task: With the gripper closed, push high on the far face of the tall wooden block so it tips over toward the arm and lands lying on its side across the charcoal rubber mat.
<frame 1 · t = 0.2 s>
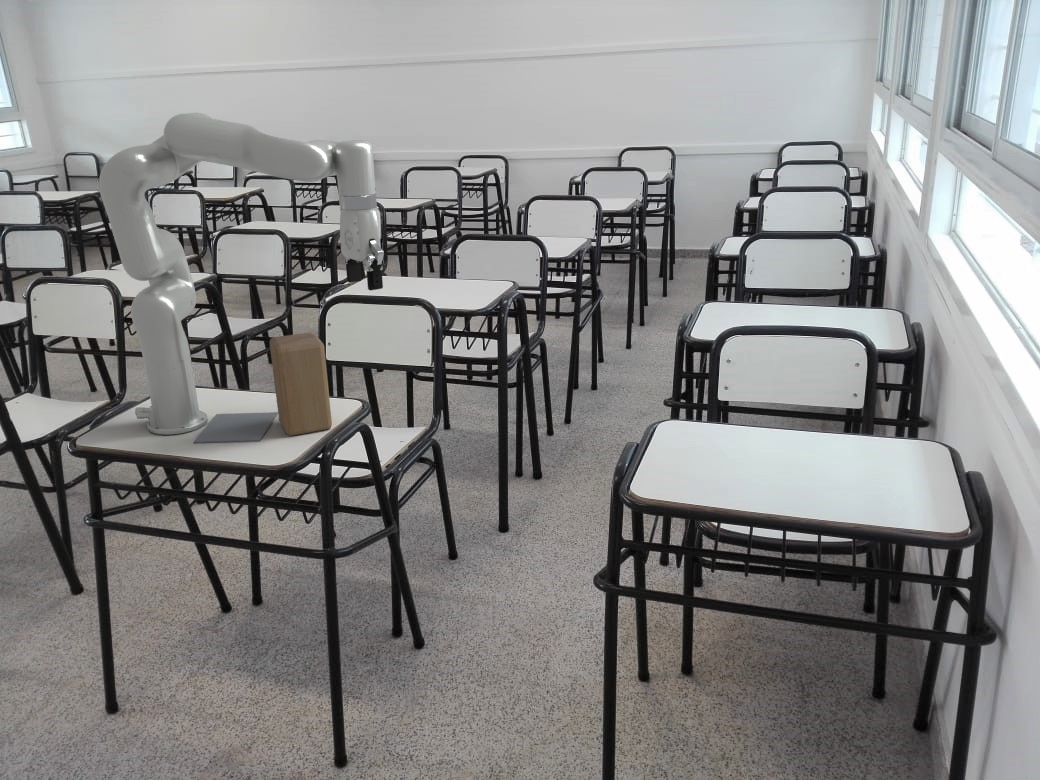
hand: (364, 285, 179), 31 cm above the table, tool pointing down, fingers open, 9 cm apart
wooden block: (305, 426, 187), on the table
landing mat: (237, 427, 186), on the table
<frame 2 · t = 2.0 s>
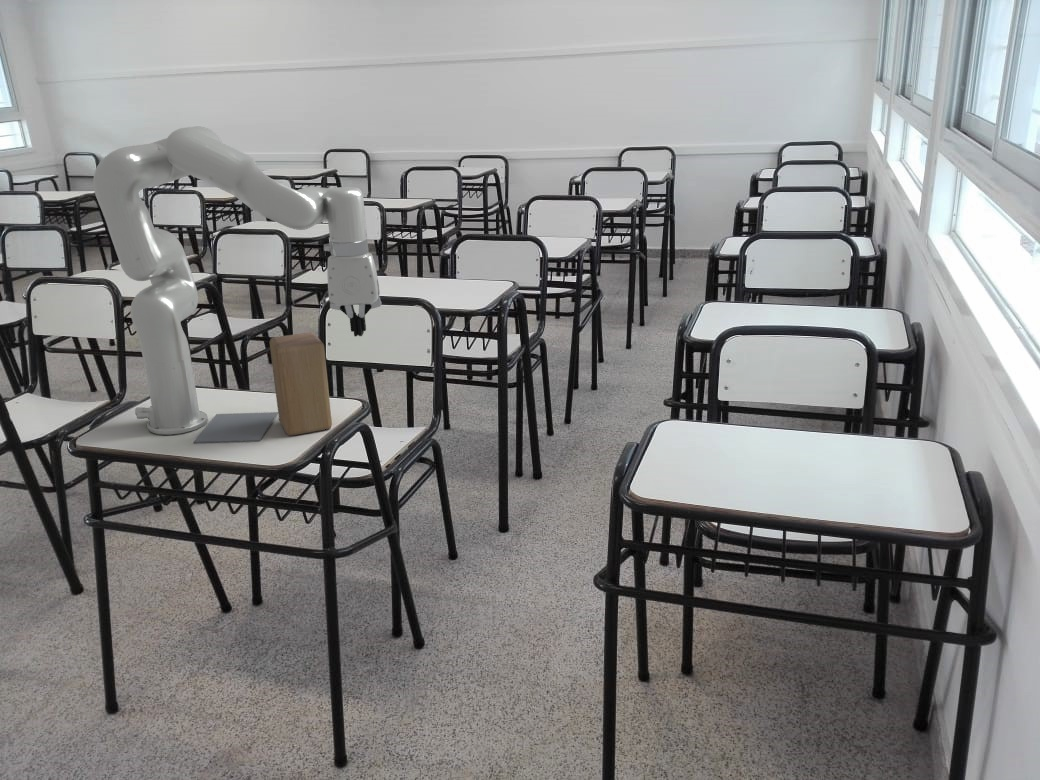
hand: (359, 334, 180), 21 cm above the table, tool pointing down, fingers closed
nothing on the table moved.
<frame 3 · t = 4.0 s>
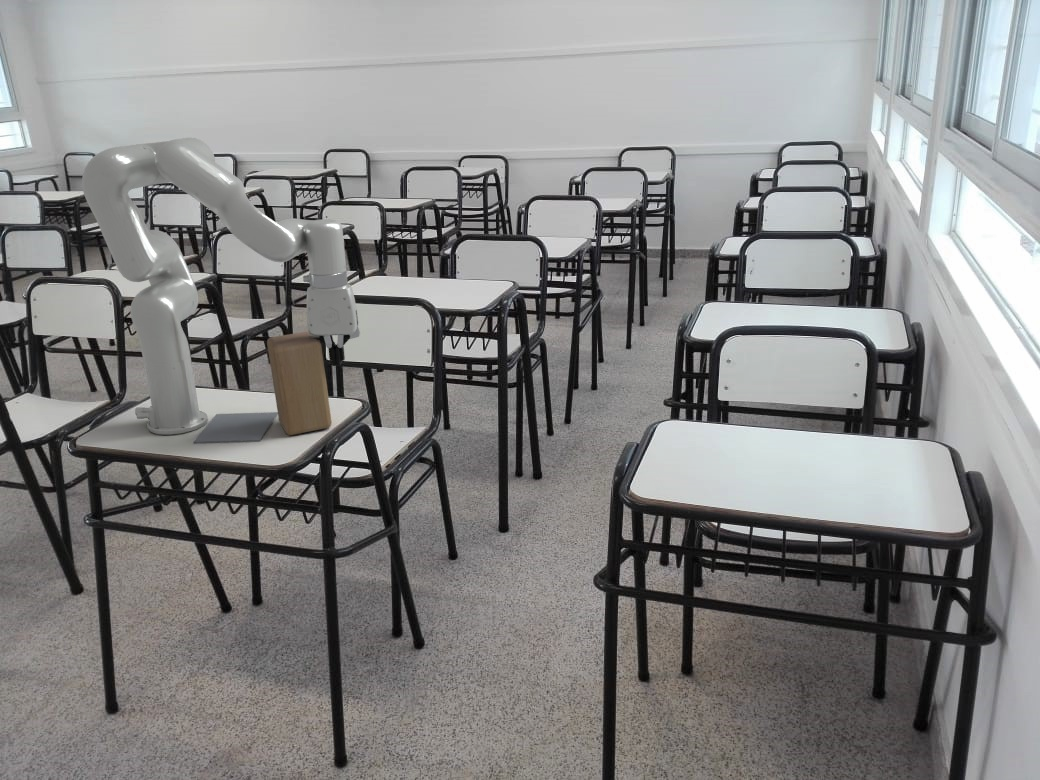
hand: (337, 363, 182), 14 cm above the table, tool pointing down, fingers closed
wooden block: (305, 426, 187), on the table, touching gripper
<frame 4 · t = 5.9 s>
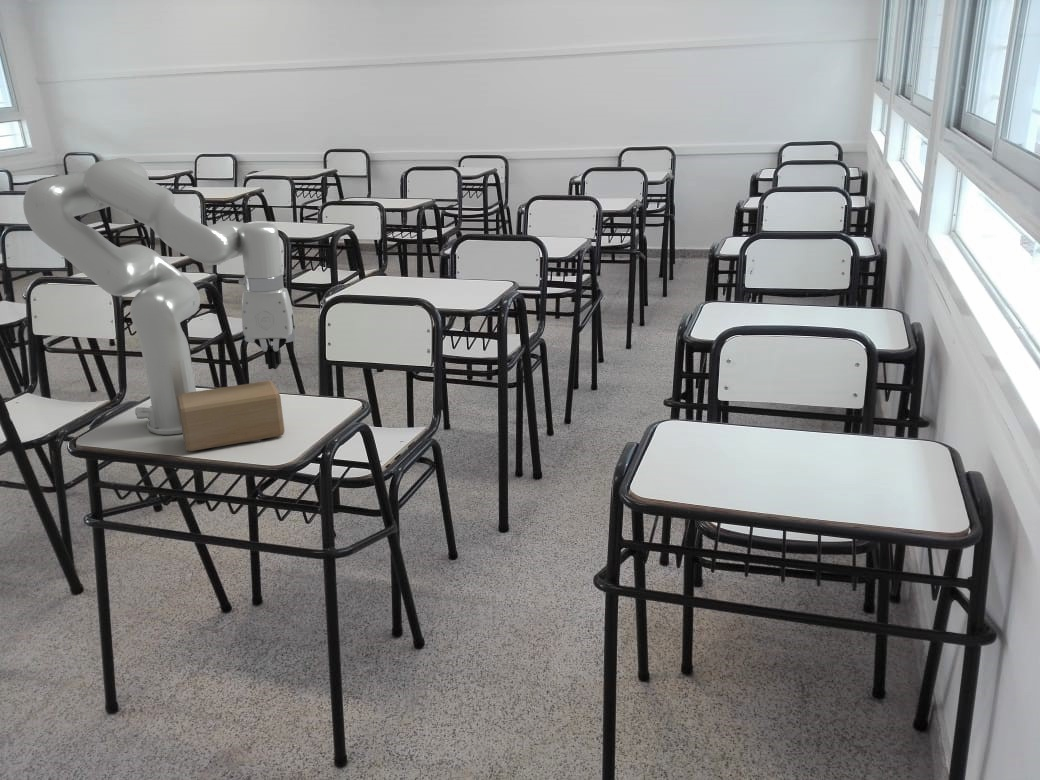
hand: (273, 367, 182), 14 cm above the table, tool pointing down, fingers closed
wooden block: (280, 407, 183), point 5 cm above the table, touching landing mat
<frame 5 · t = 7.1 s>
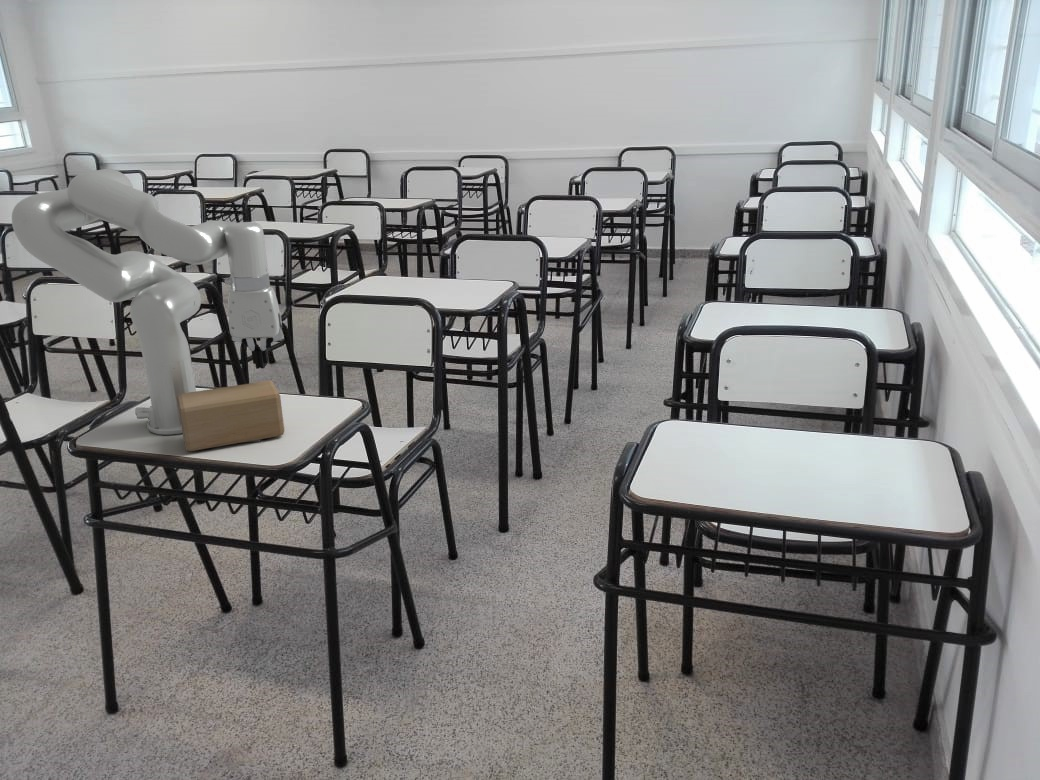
hand: (261, 366, 182), 14 cm above the table, tool pointing down, fingers closed
nothing on the table moved.
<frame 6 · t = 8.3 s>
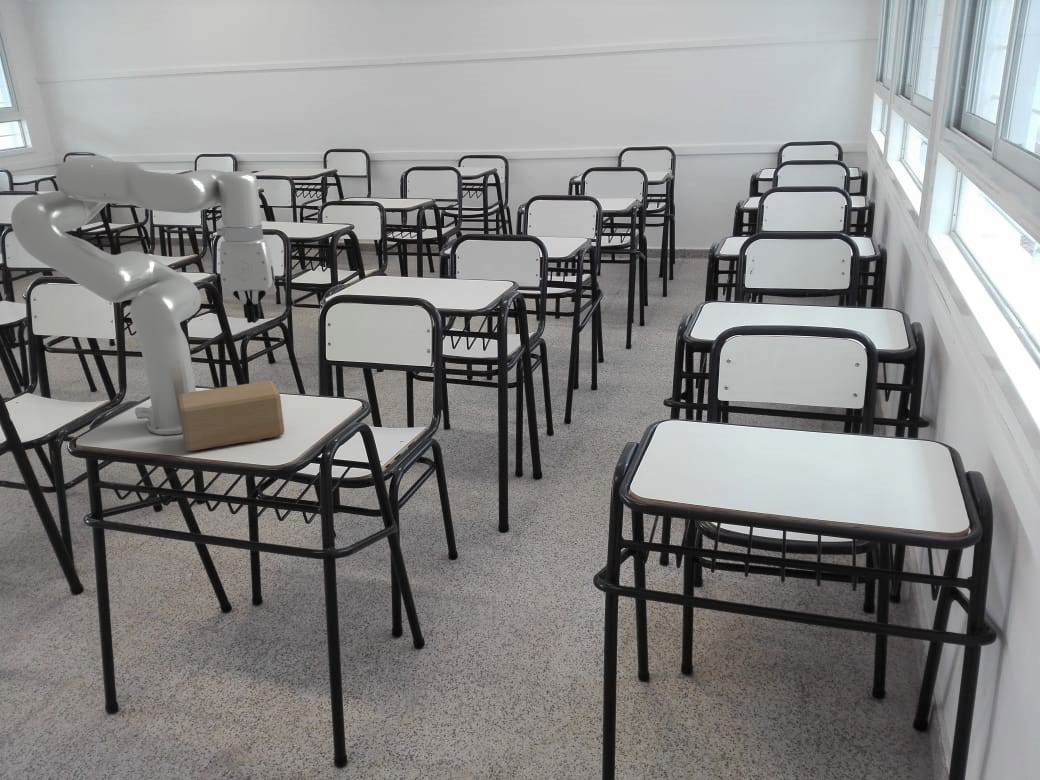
hand: (253, 320, 178), 24 cm above the table, tool pointing down, fingers closed
nothing on the table moved.
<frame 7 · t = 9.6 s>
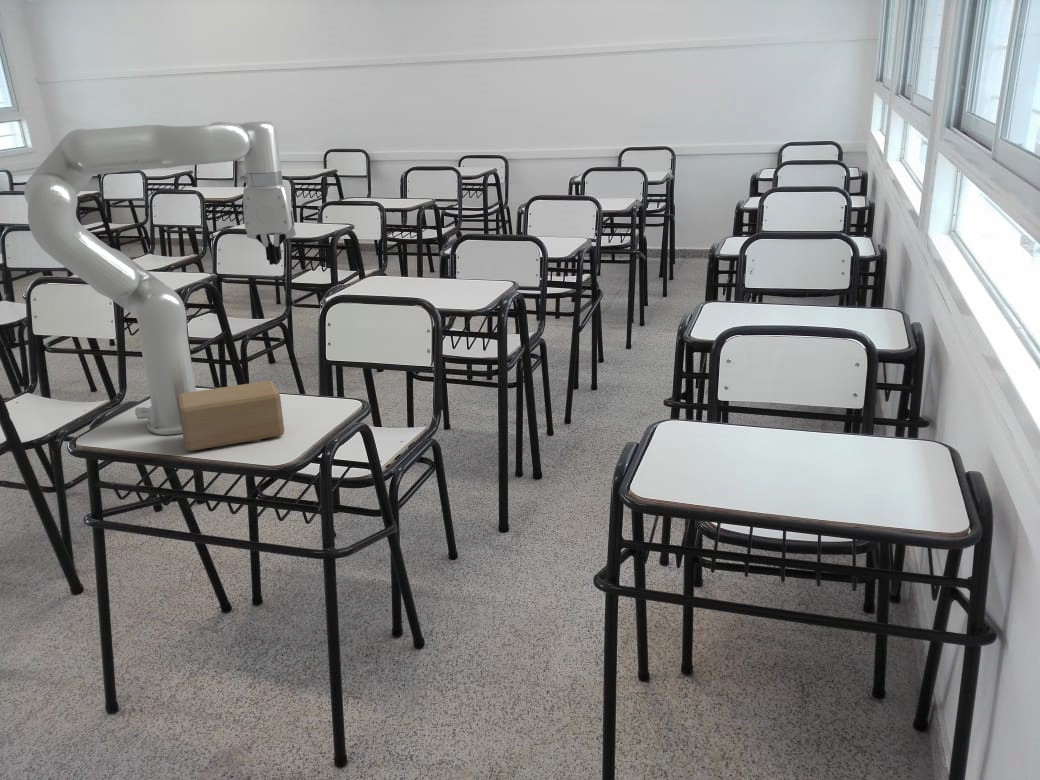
hand: (274, 263, 191), 33 cm above the table, tool pointing down, fingers closed
nothing on the table moved.
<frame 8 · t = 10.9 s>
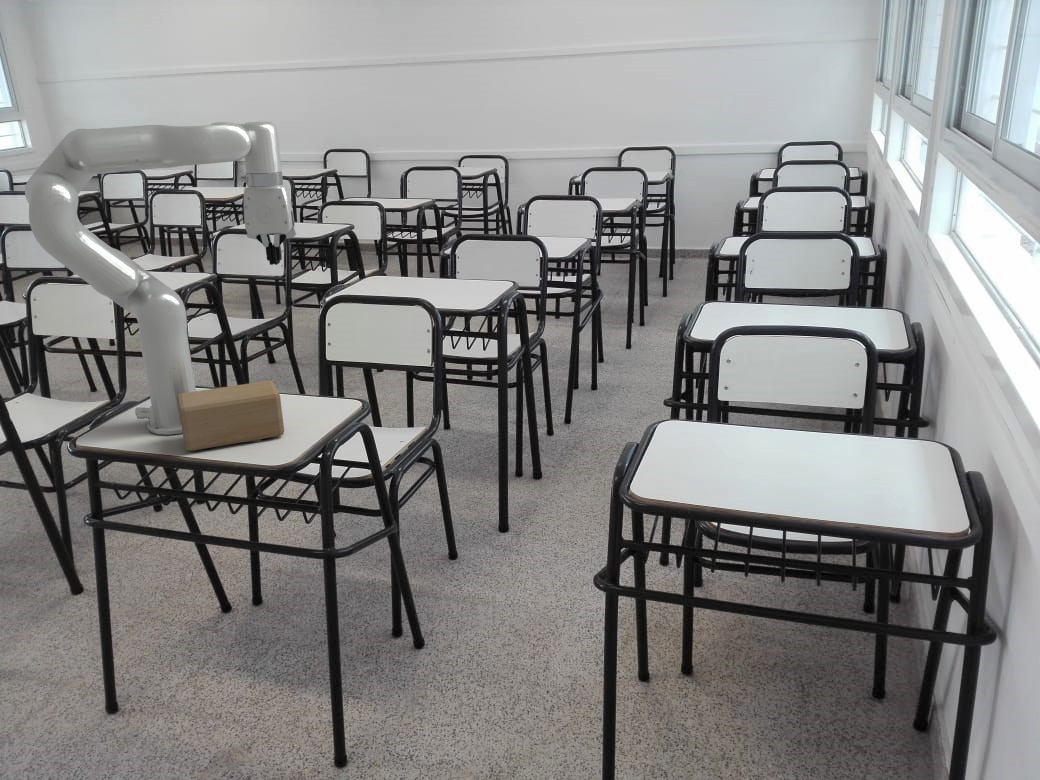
hand: (275, 263, 191), 33 cm above the table, tool pointing down, fingers closed
nothing on the table moved.
at the end: wooden block tilted 90°; wooden block touching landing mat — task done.
